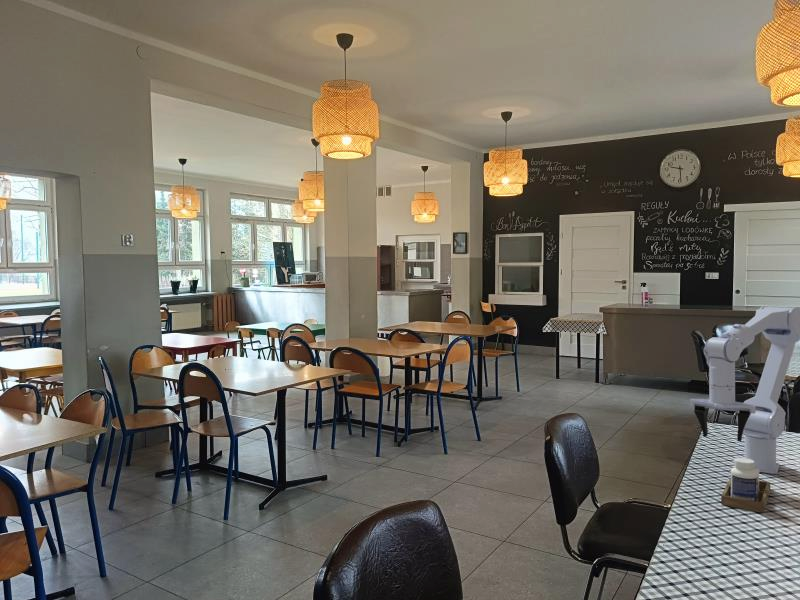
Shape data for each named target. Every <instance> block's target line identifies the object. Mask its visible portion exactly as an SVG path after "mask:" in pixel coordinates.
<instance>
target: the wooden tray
mask: <svg viewBox="0 0 800 600" xmlns="http://www.w3.org/2000/svg"><path fill="white" fill-rule="evenodd" d="M770 492H771V481H766V480H760V479H759V490H758V501H752V500H747V499H741V498H736V497H731V477H730V478H729V480H728V481H727V484H726V486H725V488H724V490H723V492H722V494H721V497H720V498H721V499H720V500H721V501H720V502H721V503H720V504H722V505H721V506H726V505H727V506H728V507H732V508H737V509H738V508H739V509H742V508H743V510H749V511H753V512H759V513H764V512H765V510H766V507H767V503H768V501H769V497H768V496H770ZM729 494H730V495H729ZM727 506H726V507H727Z"/></svg>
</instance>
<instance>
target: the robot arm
mask: <svg viewBox="0 0 800 600" xmlns="http://www.w3.org/2000/svg"><path fill="white" fill-rule="evenodd" d="M760 333H762V335H763V336H764V338H765V339H766V340H768V341H770V343H771V345H770V348H769V351H768V355H767V358H766V361H765V364H764V366H763V370H762V373H761V377H760V380H759V382H758V385H757V389H756V393H755V396H753V397H750V398H748V399H746V400H744V402H738V401H736V361H738V360H739V358H740V355H741V353H742V352H743V351H744V349H745V348H747V347H749V346H750V345H751V344H752V343H754V341H755V336H757V335H758V334H760ZM798 342H800V307H798V306H796V307H795V306H794V307H785V306H784V307H783V306H781V307H780V306H768V305H767V306H765V305H764V306H763V305H762V306H761V307H760V308H758V309H756V311H755V314H754V316H753V317H752V318H751V319H749V320H748V322H746V323H745V324H742V323H741V324H740V323H735V324H734V325H732V328H730V329H728V330H727V331H726V332H723V333H721V335H720V336H718V337H715V336H714V337H711V338H709V339H708V340H707V341H706V342H705V345H704V348H703V354H704V356H705V358H706V365H707V366H708V368H709V369H708V371H709V372H708V374H709V377H708V378H709V379H708V381H709V382H708V383H709V384H708V385H709V388H708V389H709V390H708V391H709V394H708V395H709V397H708V399H705V398H691V399H689V408H694V409H693V412H694V414H695V416H696V418H697V420H698V422H699V425H700V428H701V430H702V437H703V438H707V437H708V434H709V431H708V429H709V428H708V409H711V410H718V411H719V410H722V411H729V412H730V411H731V412H737V414H736V423H737V436H736V437H737V438H736V439H737V442H742V440H743V434H744V458H746V459H751V460H753V461H754V462H755V467H757V468H759V473H766V474H770V475H771V474H772V475H778V471H779V468H780V463H779V462H777V438H779V437H780V436H781V435H782V434H783V432H784V430H785V426H786V422H785V421H786V420H785V419H786V415H787V413H786V411H785V410H784V409H783V407H782V406H781V405H780V404H779V403H778V402H779V398H780V395H781V391H782V389H783V387H784V382H785V379H786V376H787V372H788V369H789V366H790V362H791V359H792V357H793V353H794V351H795V346H796V343H798Z"/></svg>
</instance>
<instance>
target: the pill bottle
mask: <svg viewBox="0 0 800 600" xmlns="http://www.w3.org/2000/svg"><path fill="white" fill-rule="evenodd" d="M733 462H734V463H733V464H734V467H732V468H731V470H730V478H731V495H730V497H736V498H741V499H747V500H752V501H758V502H759V500H758V473H757V472H756V471H755V470H753V469H754V468H755V462H754V461H753V460H751V459H746V458H745V457H736V458H734V461H733Z"/></svg>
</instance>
